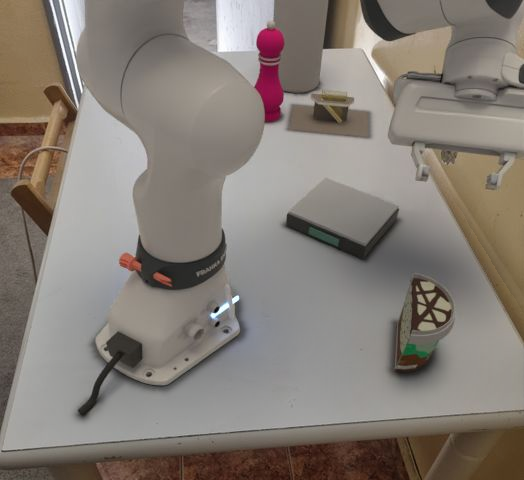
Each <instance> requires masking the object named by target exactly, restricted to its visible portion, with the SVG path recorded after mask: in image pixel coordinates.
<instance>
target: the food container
mask: <svg viewBox="0 0 524 480" xmlns="http://www.w3.org/2000/svg"><path fill="white" fill-rule="evenodd" d="M409 282H410V283H409V286H408V290H407V292H406V295H405V298H404V301H403V305H402V308H401V311H400V313H399V317H398V320H397V323H396V335H395V336H396V338H395V339H396V341H395V342H396V343H395V358H394V372H399V373H407V372H414V371H416V370H418V369H421V368H422V367H423V366H424V365H426V363H427V362H428V360H429V359H430V357H431V355H432V354H433V352H434V350H435V349H436V347H437V346H438V344H439V342H440V340H443V339H445V338H446V337H447V336H448V335H449V334H450V333H451V331H452V330H453V327H454V325H455V319H456V306H455V301H454V297H452V295H451V293H450V291H448V289H447V288H446V287H445V286H444V285H443V284H441V283H440V282H438V281H437V280H435V279H433V278H432V277H430V276H426V275H423V274H421V273H416V272H413V274H412V276H411V277H410V281H409Z"/></svg>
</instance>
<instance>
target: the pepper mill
mask: <svg viewBox="0 0 524 480" xmlns="http://www.w3.org/2000/svg"><path fill="white" fill-rule="evenodd" d="M255 45H256V48H257V50H258V51H259V52H258V54H257V56H258V58H257V61H258V63H259V73H258V77H257V80H256V82H255V84H254V85H253V87H254V88H255V89H256V90H257V91H258V93H259V94H260V96H261V98H262V101H263V105H264V110H265V123H271V122H276V121H278V120H279V119H280V118H281V113H282V112H281V111H282V109H281V107H280V106H281V105H282V104H283V102H284V99H285V97H284V96H285V95H284V91H283V89H282V86H281V83H280V80H279V75H278V67H279V63H280V62H281V54H280V52H281V51H282V50H283V48H284V37H283V34H282V33H281V32H280V31H279V30H278V29H275V22H274V21H273V19H270V20H269V21H267V23H266V28H263V29H261V30H260V31H259V32H258V34H257V36H256V41H255Z"/></svg>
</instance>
